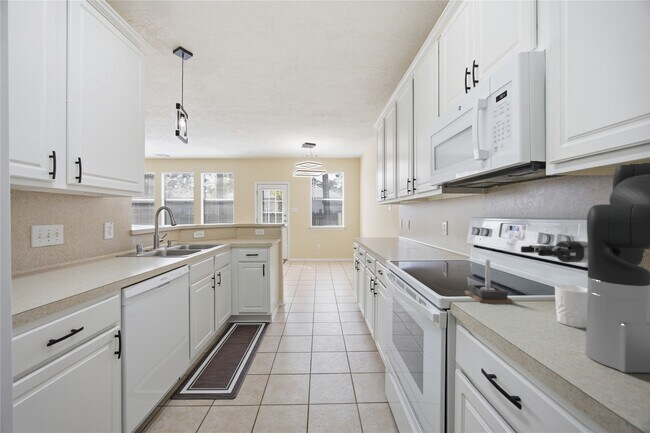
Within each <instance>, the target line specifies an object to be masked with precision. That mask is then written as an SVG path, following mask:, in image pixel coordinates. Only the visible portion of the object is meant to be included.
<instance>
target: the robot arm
mask: <svg viewBox="0 0 650 433" xmlns="http://www.w3.org/2000/svg"><path fill="white" fill-rule="evenodd" d="M609 196H610V197H609V198H608V199H609V204H608V203H607V204H605V203H604V204H595V205H592V206H591V207H590V208H589V210H588V212H587V216H586V217H587V218H586V235H587V241H586V240H585V241H583V240H561V241H559V242H557V244H555V245H553V244H551V245H550V244H549V245H543V244H542V245H541V244H539V245H533V244H532V245H531V244H530V245H525V246H524V245H523V246H521V247H520V252H521V253H522V254H523V253H525V254H527V253H530V254H537V255H538V257H552V258H556V259H558V261H560V262H561V263H587V289H588V290H587V327H586V328H585V329H586V332H585V333H586V334H585V336H586V341H585V343H586V344H585V353H586V355H587V357H588V358H590V359H591V360H593V361H596V363H599V364H601V365H604V366H607V367H610V368H612V369H616V370H619V371H620V372H622V373H647V374H648V373H649V374H650V270H649V269H647V268H644V267H643V266H641V263H642V262H643V261H642V258H643V253H644V251H645V250H650V163H643V164H630V165H620V166H618V165H617V166H616V168H615V170H614V173H613V179H612V192H611V193H610V195H609ZM641 261H642V262H641Z"/></svg>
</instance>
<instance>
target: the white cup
mask: <svg viewBox="0 0 650 433" xmlns="http://www.w3.org/2000/svg"><path fill="white" fill-rule="evenodd" d="M587 290H588V287H584V286H583V287H582V286H578V285H572V284H556V285H555V284H554V299H555V300H554V301H555V313H556V321H557V322H558V323H559V324H561V325H564V326H568V327H572V328H578V329H586V327H587Z"/></svg>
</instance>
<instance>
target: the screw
mask: <svg viewBox="0 0 650 433" xmlns="http://www.w3.org/2000/svg"><path fill="white" fill-rule="evenodd" d="M484 270H485V271H484V274H485V276H484V277H485V278H484V285H485V287H481V288H480V290H482V291H495V289H493V288H490V286H491V285H492V284H491V280H492V279H491V271H492V269H491V260H490V259H487V260H485V269H484Z"/></svg>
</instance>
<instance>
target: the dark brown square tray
mask: <svg viewBox="0 0 650 433" xmlns="http://www.w3.org/2000/svg"><path fill="white" fill-rule="evenodd" d="M490 285H491V286H490V288H493V289H495V291H482V290H480V288H481V287H485V284H468V290H464V294H465V295H466V296H469V297H470V298H471V299H474V300H475V301H477V302H478V303H480V304H481V303H483V304H484V303H485V304H486V303H487V304H489V303H493V304H496V303H497V304H498V303H500V304H502V303H504V304H508V303H509V304H510V303H511V304H512V303H513V299H511V298H509V296H508V291H507V290H505V289H502V288H500V287H498V286H496V285H493V284H490Z"/></svg>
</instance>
